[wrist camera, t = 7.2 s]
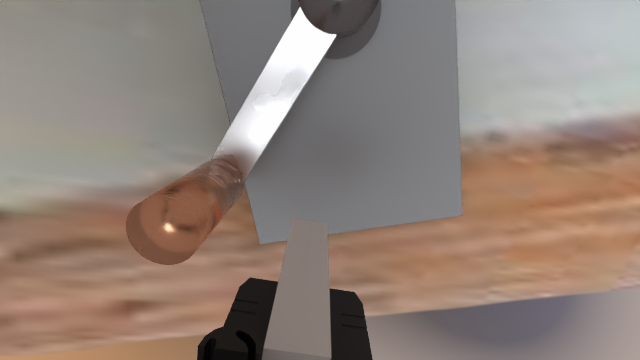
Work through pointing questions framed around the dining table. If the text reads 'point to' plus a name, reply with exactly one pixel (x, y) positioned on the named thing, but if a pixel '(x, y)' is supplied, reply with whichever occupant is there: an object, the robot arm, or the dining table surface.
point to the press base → (351, 117)
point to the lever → (242, 136)
